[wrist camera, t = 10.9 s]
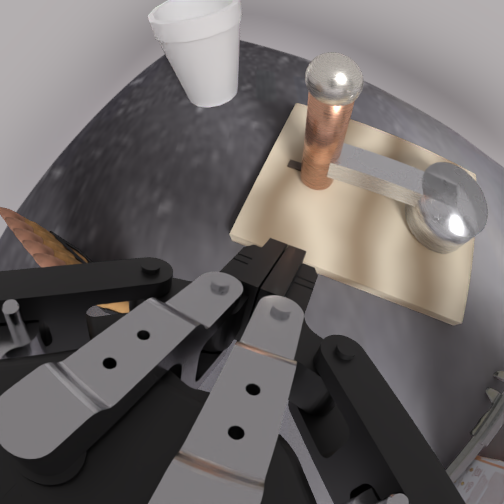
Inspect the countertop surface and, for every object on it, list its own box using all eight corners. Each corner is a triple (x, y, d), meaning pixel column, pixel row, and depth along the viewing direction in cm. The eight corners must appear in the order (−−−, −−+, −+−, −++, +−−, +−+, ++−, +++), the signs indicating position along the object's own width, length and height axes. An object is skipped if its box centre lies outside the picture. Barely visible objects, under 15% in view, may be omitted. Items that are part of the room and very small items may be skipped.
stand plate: (469, 181, 27) (476, 173, 25) (453, 325, 22) (463, 323, 21) (295, 112, 31) (296, 101, 30) (232, 240, 27) (229, 232, 25)
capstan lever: (466, 200, 24) (535, 121, 12) (463, 263, 22) (557, 197, 10) (307, 143, 27) (318, 28, 15) (286, 202, 25) (291, 81, 13)
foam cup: (186, 73, 36) (164, -4, 23) (252, 69, 35) (243, -14, 23) (169, 118, 33) (134, 31, 20) (245, 115, 32) (232, 17, 19)
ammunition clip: (146, 306, 25) (63, 265, 14) (135, 323, 25) (46, 293, 13) (77, 248, 28) (1, 193, 16) (68, 262, 27) (-11, 213, 16)
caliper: (493, 370, 20) (533, 367, 14) (498, 375, 20) (538, 372, 14) (370, 539, 16) (389, 571, 10) (377, 542, 15) (397, 573, 10)
